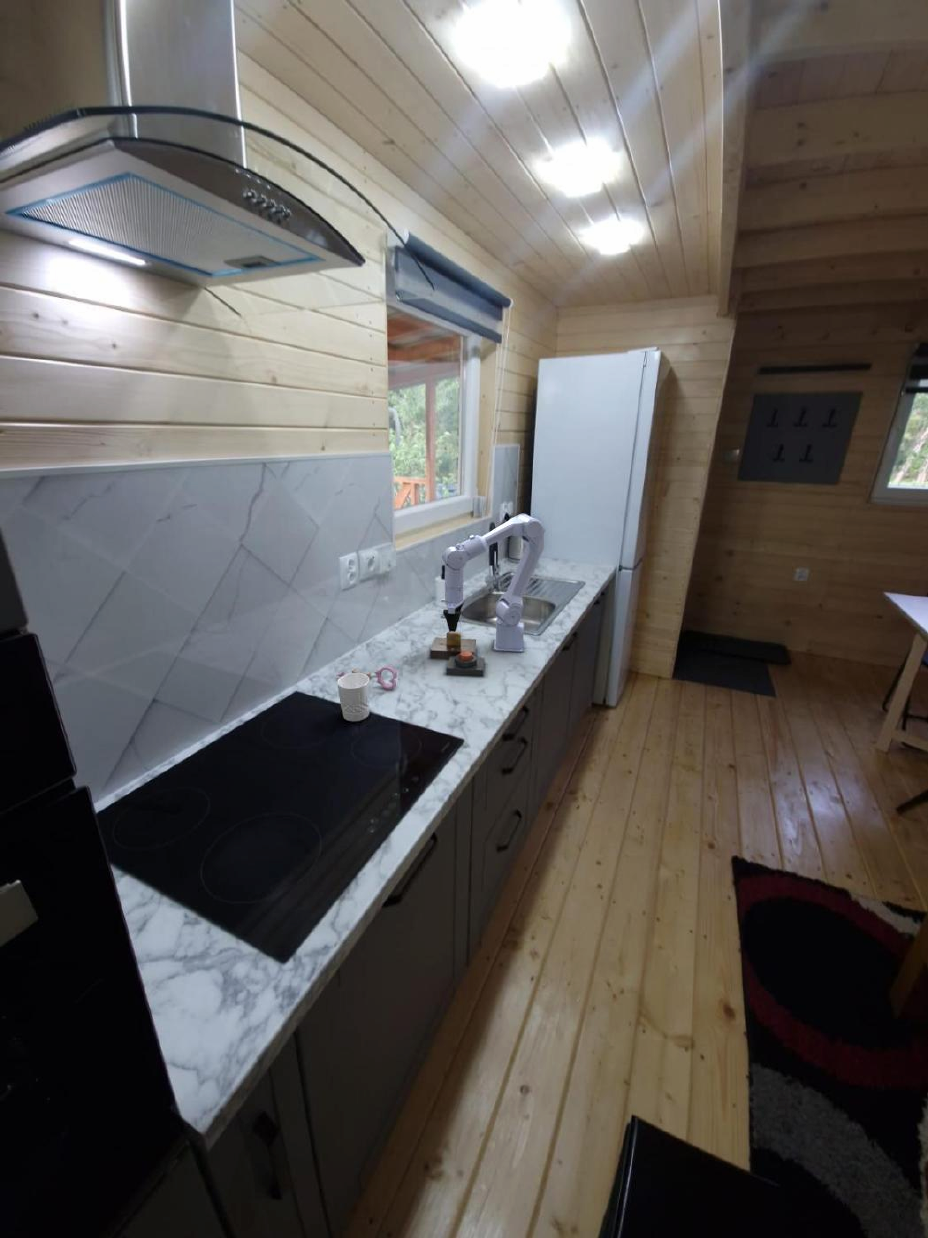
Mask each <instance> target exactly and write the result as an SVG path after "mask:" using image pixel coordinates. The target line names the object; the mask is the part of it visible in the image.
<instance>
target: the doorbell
mask: <svg viewBox="0 0 928 1238" xmlns="http://www.w3.org/2000/svg"><path fill="white" fill-rule="evenodd" d="M485 662H486V661H485V657H478V656H476V654H475V655H474V654H472V660H469V661H463V660H461V659H460V654H458V655H457V656H456V657H453V656H450V657H449V659H448V662H447V664H446V675H448V676H449V675H450V676H464V677H465V676H467V677H484V671H485V665H486V663H485Z"/></svg>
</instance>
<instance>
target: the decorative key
mask: <svg viewBox="0 0 928 1238" xmlns="http://www.w3.org/2000/svg"><path fill="white" fill-rule="evenodd" d="M386 670H387V671H389V672H391V674H392V678H390V679H388V682H390V683H391V684H392V685H390V684H387V683H386V682H385V680H384V679H383V677H382V672H383V671H386ZM351 673H361V674H365V675H367V676H368V677H369V681H371V680H372V679H373V678H376V679H377V680H376V683H377V684H380V686H381V687H383V688H384V689H385V690H393V689H394V688H395V687H396V685H397V681H396V679H397V676H398V674H397V671H396V669H395V667H393V666H390V665H385V666H383V667H382V668H380V669H377V670H375V671H374V672H373V673H374V674H372V672H367V673H362V672H360V671H358V670H356V669H354V668H353V669H352V670H351ZM347 674H348V673H346V671H345V670H344V671H342V672H341V673H339V674H335V676H337V677H339V678H340V677H342V676H344V675H347Z"/></svg>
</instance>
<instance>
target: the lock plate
mask: <svg viewBox="0 0 928 1238" xmlns="http://www.w3.org/2000/svg"><path fill="white" fill-rule="evenodd" d="M476 650H477V639H475V638H461V646H455V645H446V637H438V636H436V637H435V636H434V638H433V641H432V644H431V647H430V650H429V659H434V660H435V659H436V660H449V657H450V656H453V657H456V656H457V655H458V654H460V653H461V652H463V651H469V652H471V653H472V654H474V655H475V656H476Z"/></svg>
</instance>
